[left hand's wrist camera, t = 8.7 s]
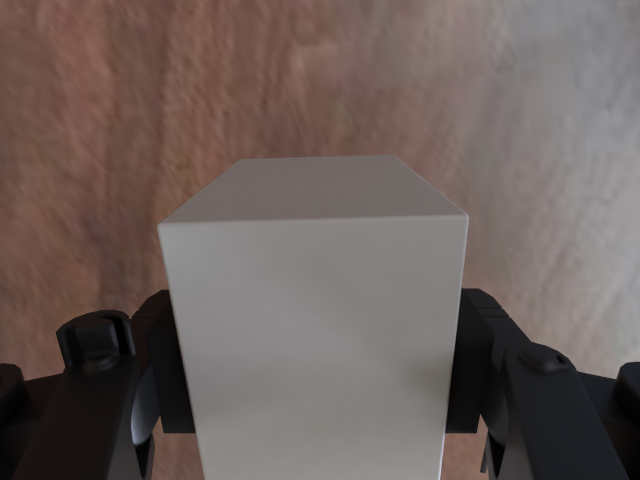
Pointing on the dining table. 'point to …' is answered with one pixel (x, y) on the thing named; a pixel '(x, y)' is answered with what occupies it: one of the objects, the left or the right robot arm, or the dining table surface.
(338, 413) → the post
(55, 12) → the dining table surface
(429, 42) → the dining table surface
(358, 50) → the dining table surface
